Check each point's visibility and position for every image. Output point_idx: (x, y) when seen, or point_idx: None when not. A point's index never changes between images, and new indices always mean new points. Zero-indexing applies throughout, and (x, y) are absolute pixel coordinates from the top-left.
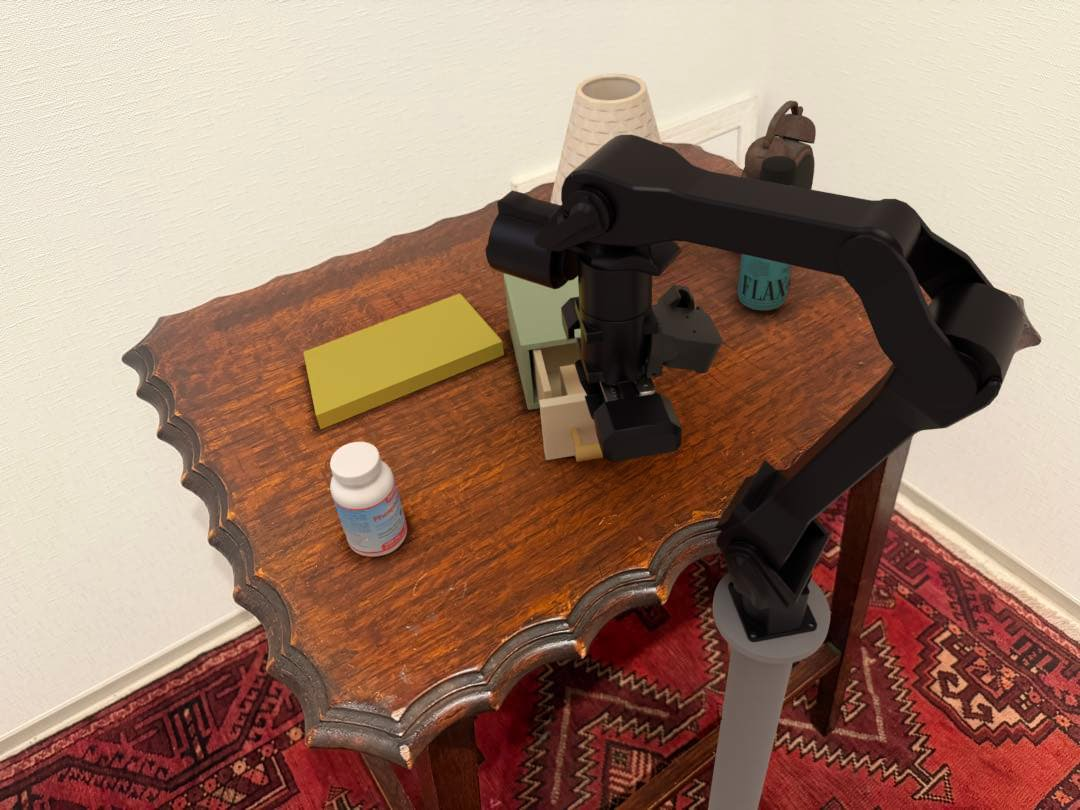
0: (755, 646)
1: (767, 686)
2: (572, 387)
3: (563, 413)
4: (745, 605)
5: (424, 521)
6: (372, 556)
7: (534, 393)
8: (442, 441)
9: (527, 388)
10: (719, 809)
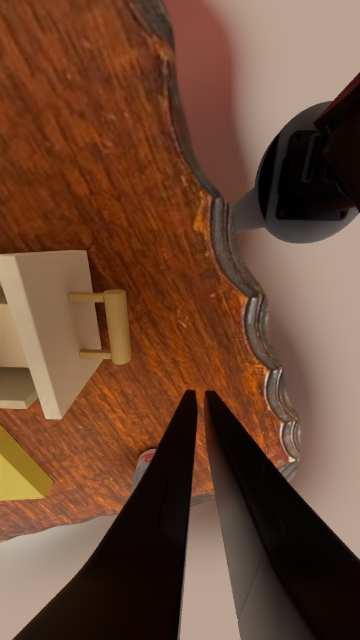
0: (348, 216)
1: None
2: (8, 359)
3: (65, 382)
4: (327, 212)
5: (151, 437)
6: None
7: None
8: (69, 421)
9: None
10: None
